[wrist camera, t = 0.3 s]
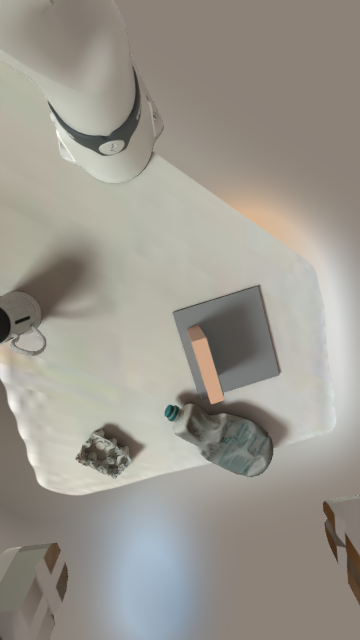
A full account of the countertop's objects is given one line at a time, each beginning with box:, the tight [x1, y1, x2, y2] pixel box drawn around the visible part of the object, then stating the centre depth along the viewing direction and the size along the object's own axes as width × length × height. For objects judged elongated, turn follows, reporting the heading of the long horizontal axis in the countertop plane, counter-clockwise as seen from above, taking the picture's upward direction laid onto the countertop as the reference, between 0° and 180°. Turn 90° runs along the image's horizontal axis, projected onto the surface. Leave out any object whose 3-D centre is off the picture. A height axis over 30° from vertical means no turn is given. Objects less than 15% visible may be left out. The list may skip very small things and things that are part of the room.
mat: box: [173, 286, 279, 400], centre depth 56 cm, size 20×18×1 cm
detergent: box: [165, 404, 273, 477], centre depth 56 cm, size 13×7×25 cm
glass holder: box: [0, 291, 46, 356], centre depth 45 cm, size 9×14×15 cm, turn 63°
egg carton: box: [76, 430, 131, 479], centre depth 57 cm, size 10×7×4 cm
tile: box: [187, 325, 224, 404], centre depth 51 cm, size 12×3×10 cm, turn 17°
